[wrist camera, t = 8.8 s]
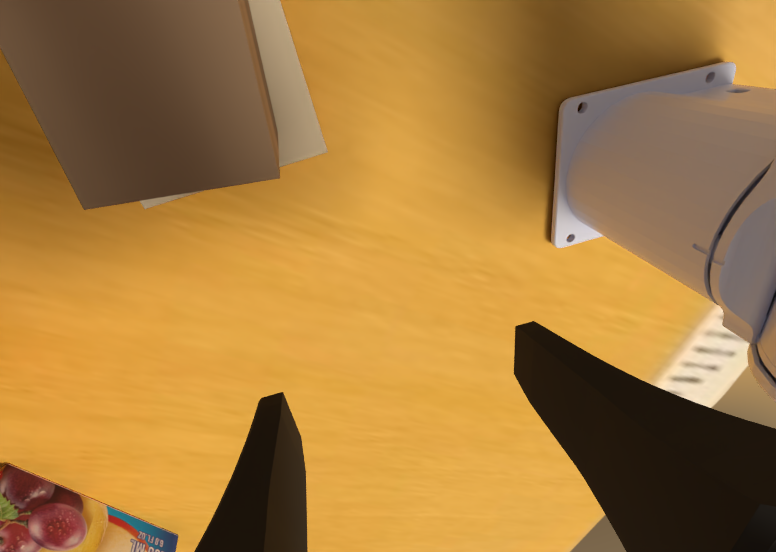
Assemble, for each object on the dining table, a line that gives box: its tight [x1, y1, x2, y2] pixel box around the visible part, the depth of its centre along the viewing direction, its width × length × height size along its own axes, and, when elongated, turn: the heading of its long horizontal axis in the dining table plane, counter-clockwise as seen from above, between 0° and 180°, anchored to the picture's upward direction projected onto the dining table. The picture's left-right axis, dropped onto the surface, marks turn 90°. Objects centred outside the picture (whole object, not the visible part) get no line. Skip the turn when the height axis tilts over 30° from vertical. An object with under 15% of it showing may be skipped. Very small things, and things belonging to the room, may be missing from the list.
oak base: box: [140, 0, 328, 209], centre depth 15 cm, size 7×7×3 cm
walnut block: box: [0, 0, 280, 210], centre depth 11 cm, size 4×4×6 cm
